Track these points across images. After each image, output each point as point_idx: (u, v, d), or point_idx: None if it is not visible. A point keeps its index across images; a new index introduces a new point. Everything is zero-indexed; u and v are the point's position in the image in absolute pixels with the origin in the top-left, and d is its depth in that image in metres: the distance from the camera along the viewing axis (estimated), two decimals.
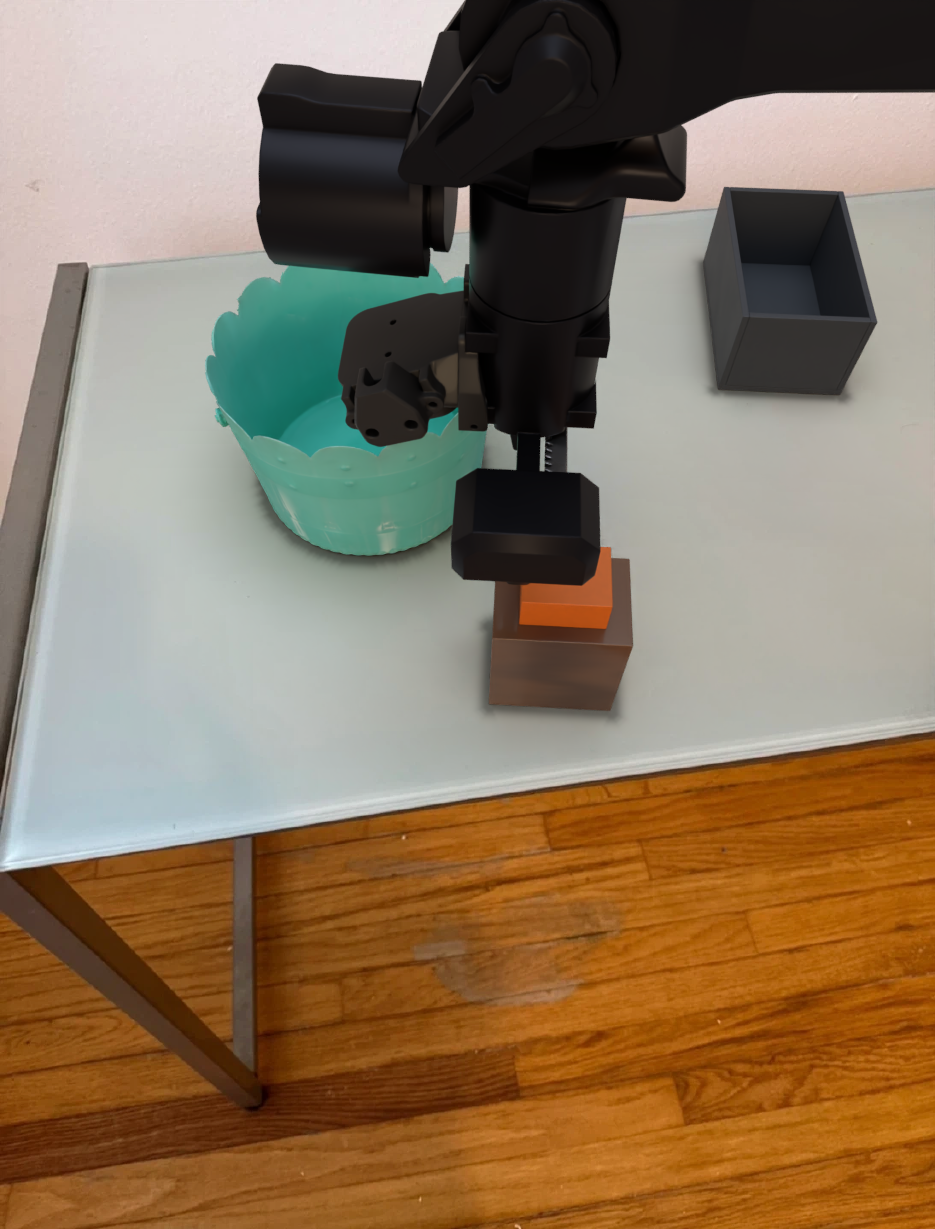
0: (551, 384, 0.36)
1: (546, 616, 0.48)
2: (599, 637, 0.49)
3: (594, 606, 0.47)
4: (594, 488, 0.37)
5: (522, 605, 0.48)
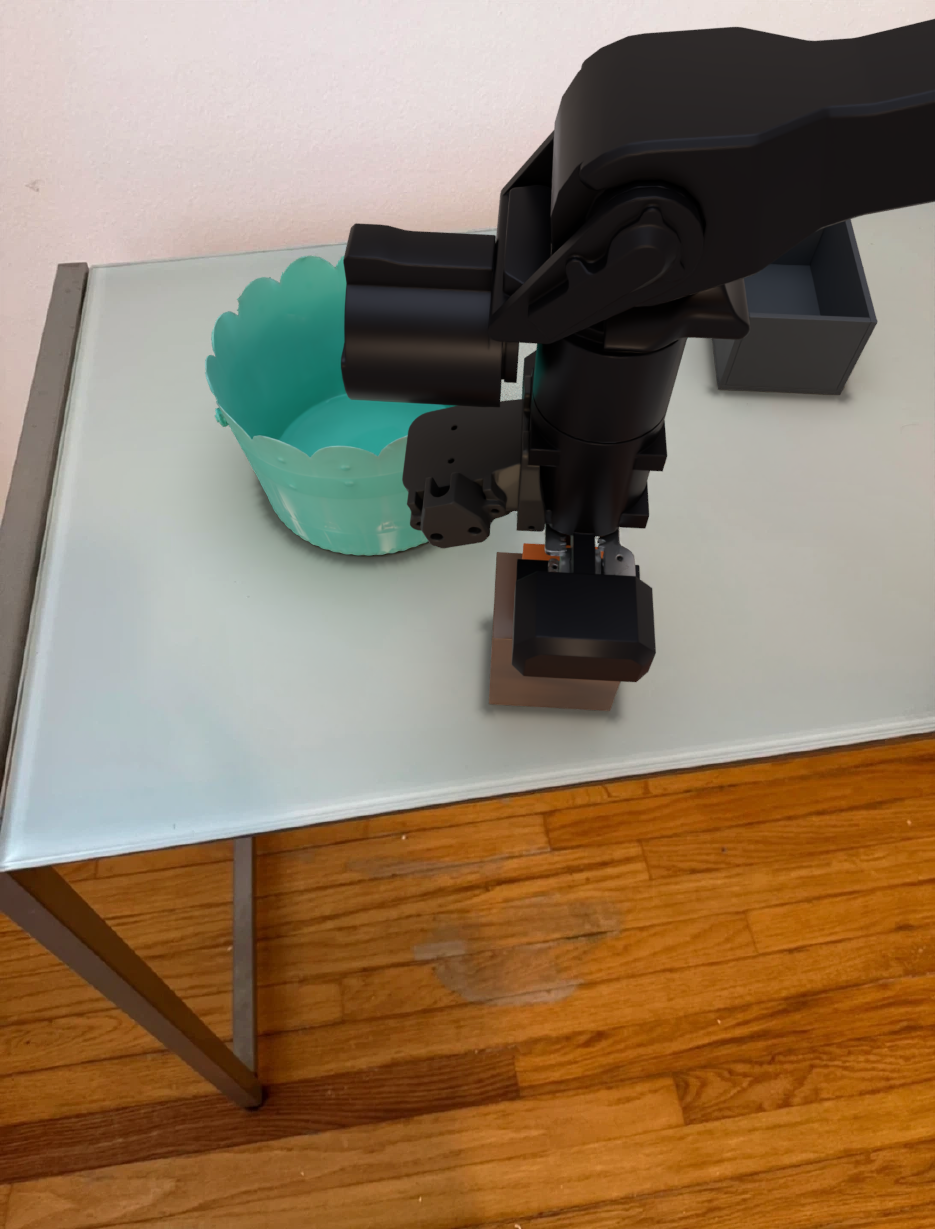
0: (608, 493, 0.38)
1: None
2: None
3: None
4: (648, 590, 0.39)
5: None
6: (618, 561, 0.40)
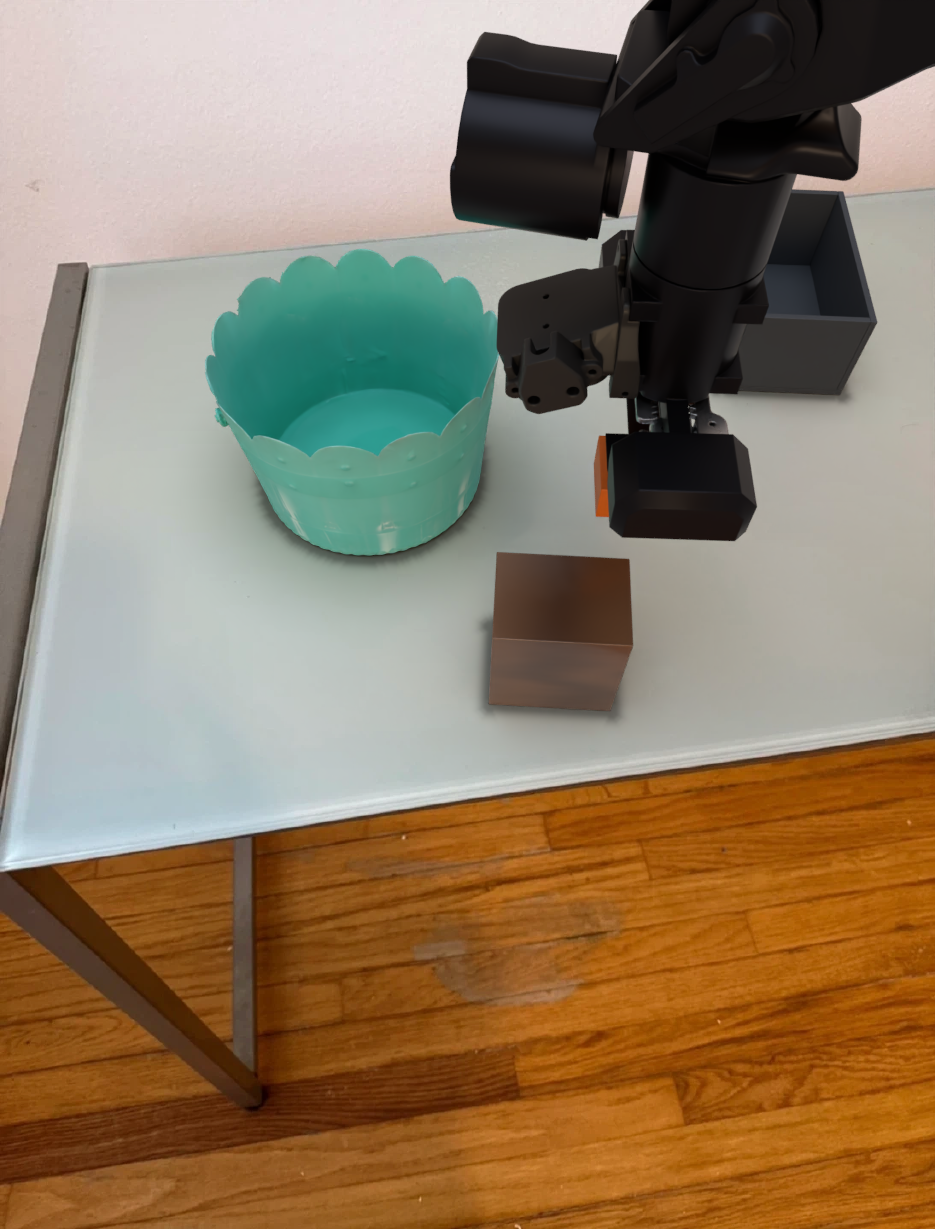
0: (706, 351, 0.38)
1: None
2: (599, 637, 0.49)
3: None
4: (745, 449, 0.39)
5: (601, 493, 0.48)
6: (711, 427, 0.40)
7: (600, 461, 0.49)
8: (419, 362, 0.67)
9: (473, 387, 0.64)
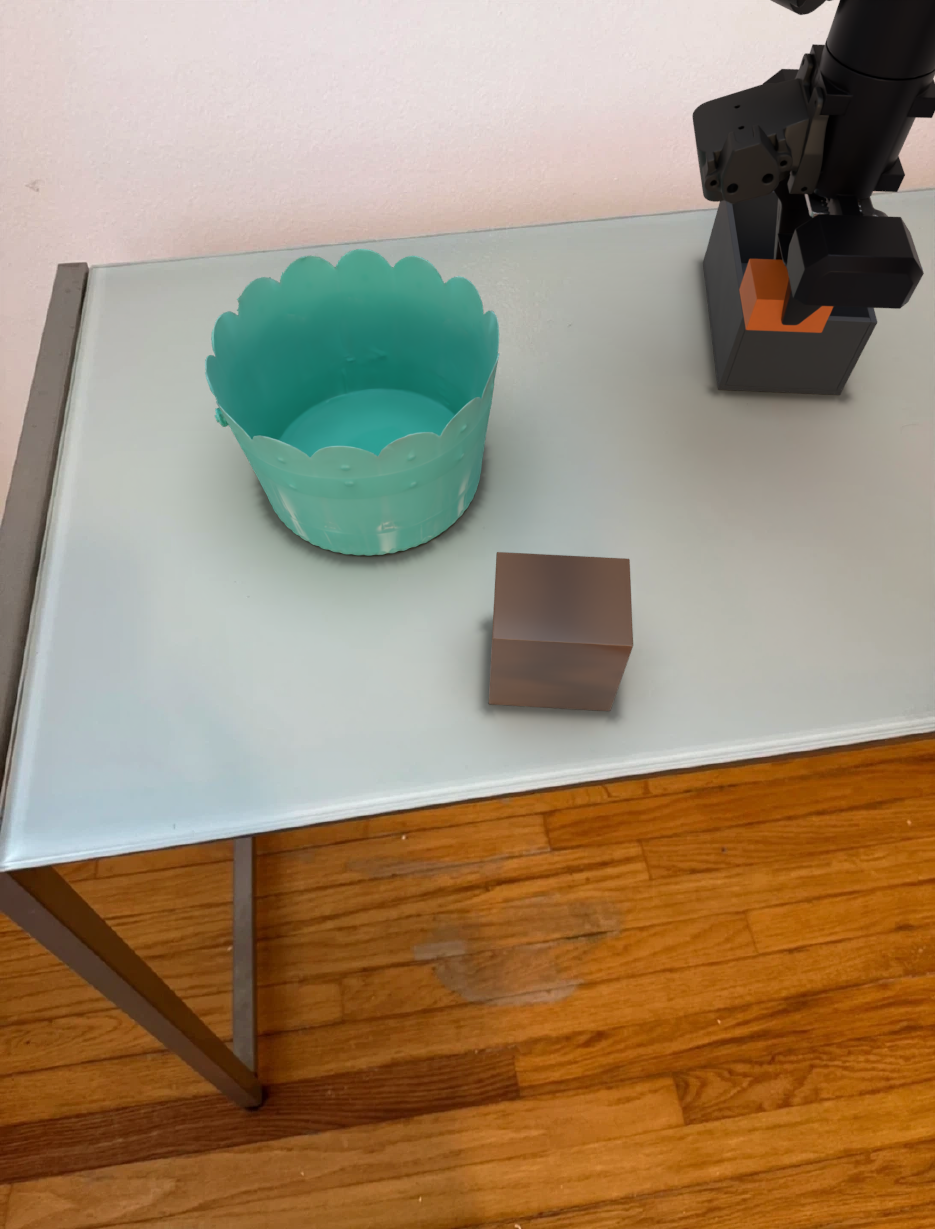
0: (881, 144, 0.45)
1: (773, 318, 0.56)
2: (599, 637, 0.49)
3: None
4: (909, 232, 0.46)
5: (756, 304, 0.55)
6: None
7: (753, 278, 0.56)
8: (419, 362, 0.67)
9: (473, 387, 0.64)
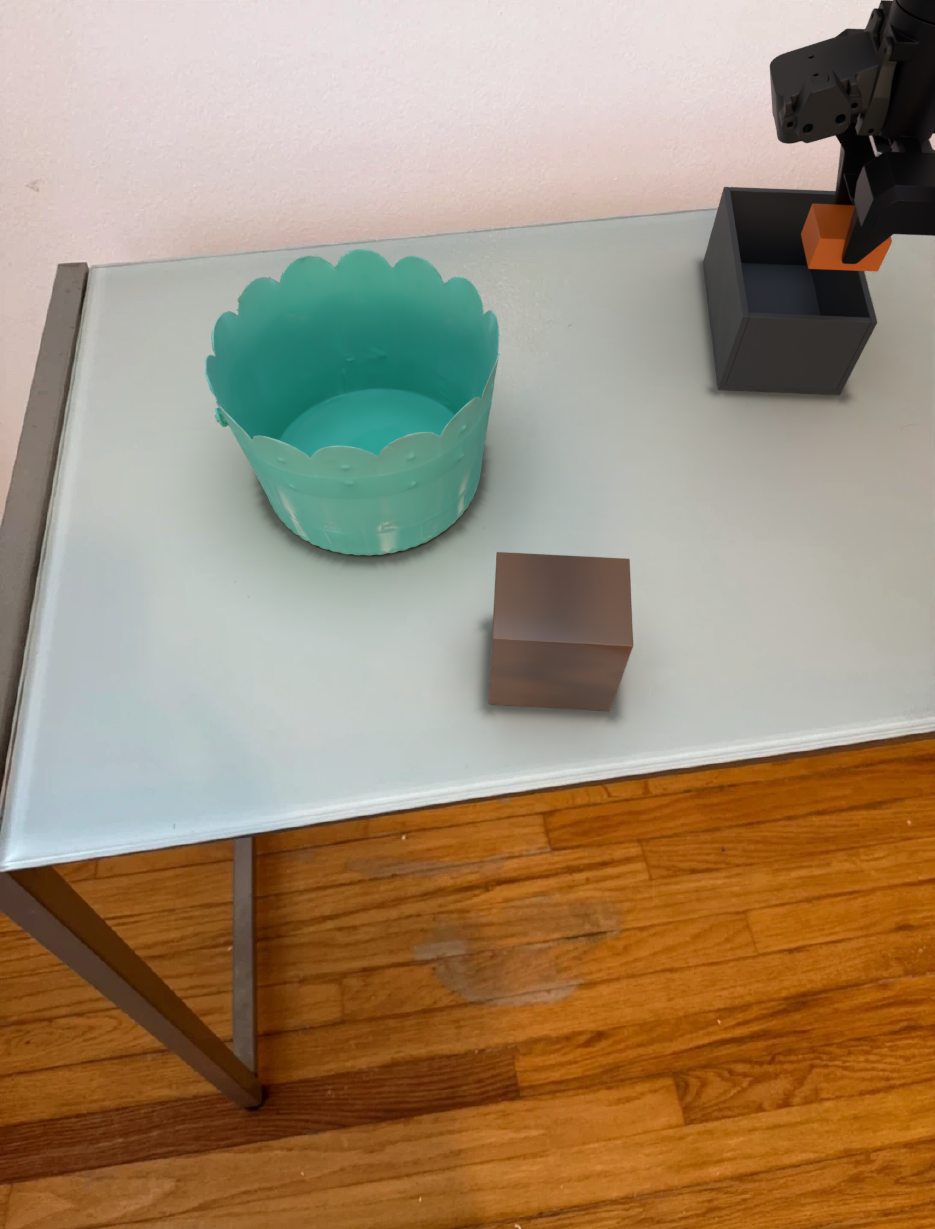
0: None
1: (834, 257, 0.61)
2: (599, 637, 0.49)
3: None
4: None
5: (819, 243, 0.61)
6: None
7: (816, 220, 0.61)
8: (419, 362, 0.67)
9: (473, 387, 0.64)
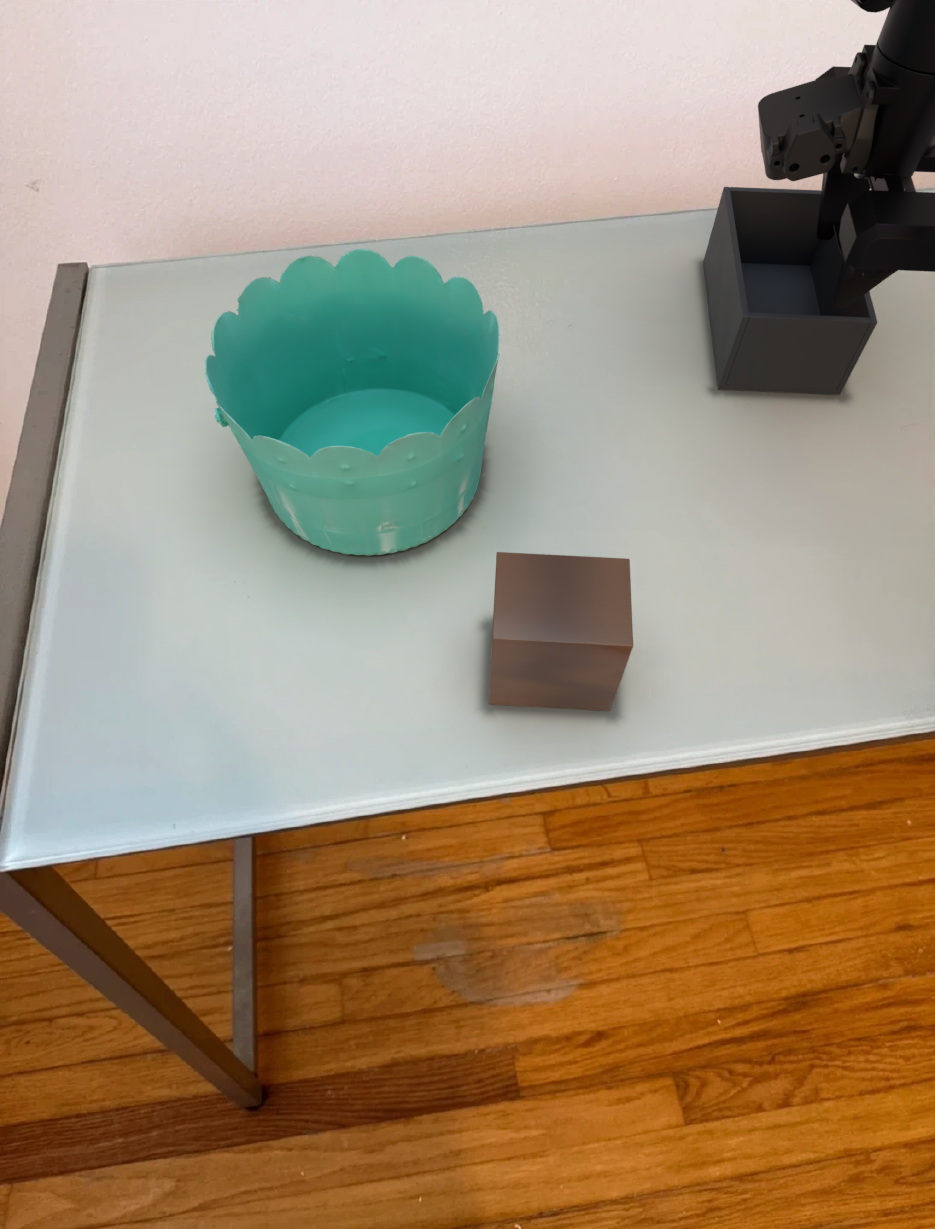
0: (923, 130, 0.53)
1: None
2: (599, 637, 0.49)
3: None
4: None
5: None
6: None
7: None
8: (419, 362, 0.67)
9: (473, 387, 0.64)
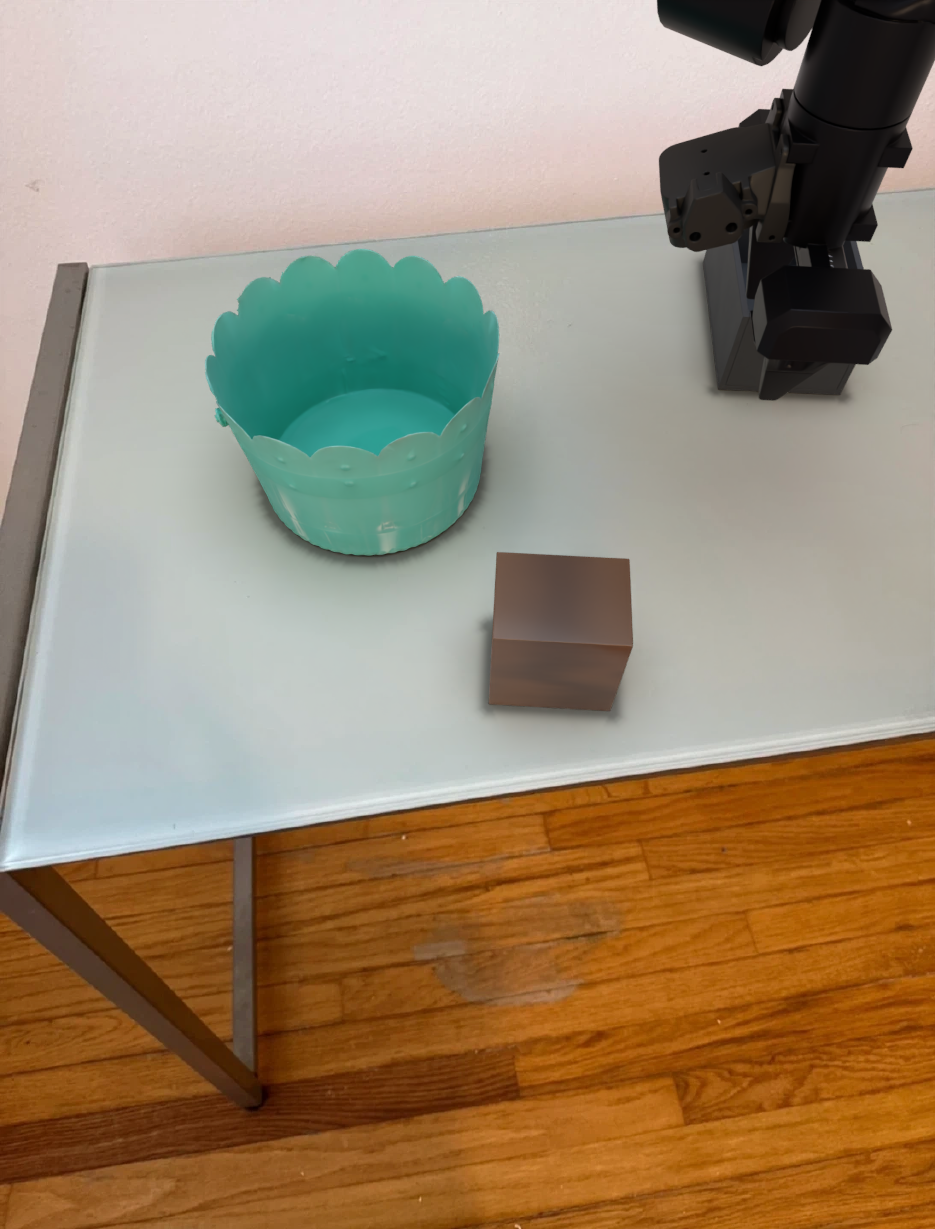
0: (851, 194, 0.43)
1: None
2: (599, 637, 0.49)
3: None
4: (879, 285, 0.44)
5: None
6: None
7: None
8: (419, 362, 0.67)
9: (473, 387, 0.64)
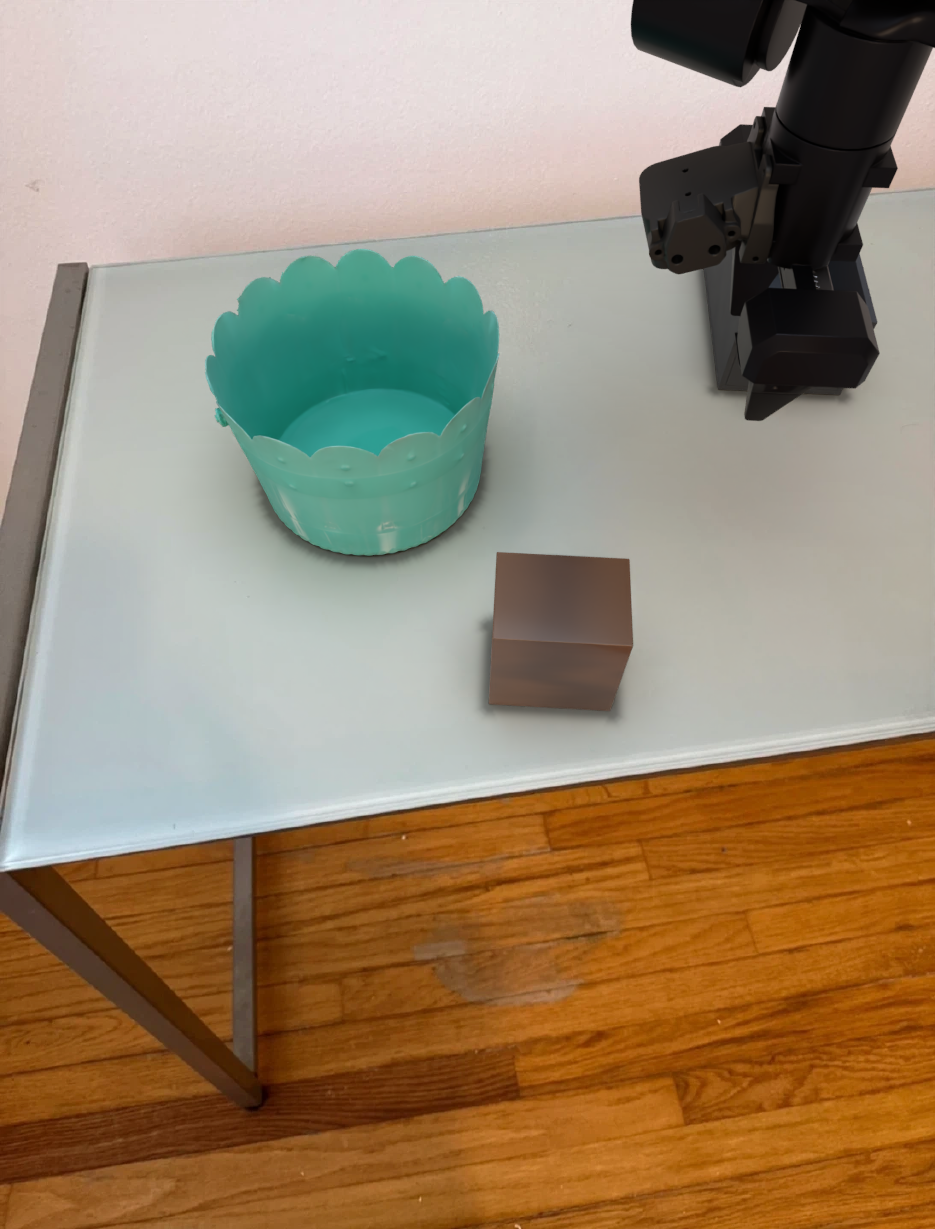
0: (835, 214, 0.42)
1: None
2: (599, 637, 0.49)
3: None
4: (865, 306, 0.43)
5: None
6: None
7: None
8: (419, 362, 0.67)
9: (473, 387, 0.64)
